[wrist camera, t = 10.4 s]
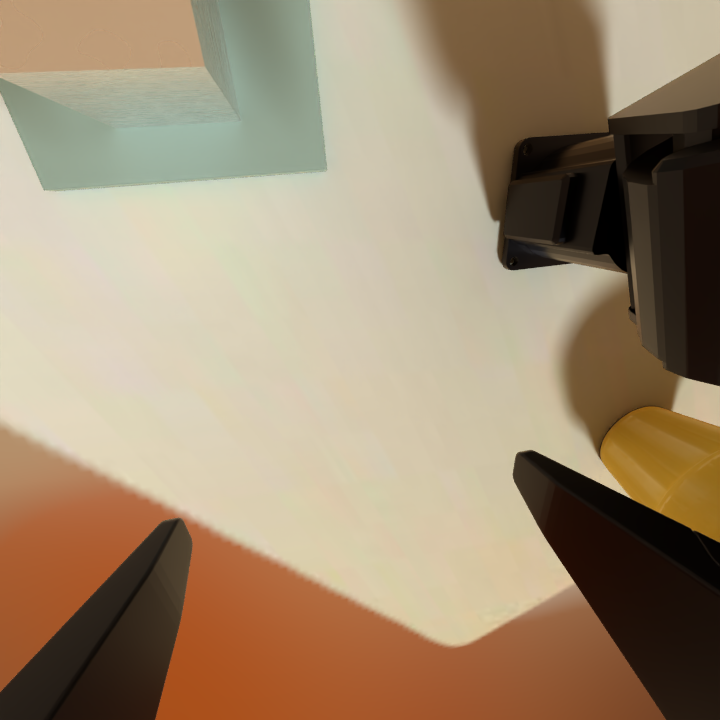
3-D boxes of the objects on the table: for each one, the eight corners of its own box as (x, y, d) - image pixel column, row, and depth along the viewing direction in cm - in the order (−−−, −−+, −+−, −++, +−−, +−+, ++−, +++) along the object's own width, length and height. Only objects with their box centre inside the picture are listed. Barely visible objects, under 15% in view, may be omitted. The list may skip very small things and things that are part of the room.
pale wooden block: (208, -48, 12) (132, -264, 6) (241, 121, 14) (205, 66, 8) (55, -49, 11) (-171, -290, 6) (115, 128, 13) (-10, 73, 8)
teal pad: (295, -110, 12) (295, -131, 11) (325, 171, 16) (327, 169, 15) (-78, -122, 11) (-105, -146, 10) (56, 191, 14) (43, 190, 14)
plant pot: (599, 389, 25) (761, 487, 16) (709, 379, 27) (910, 463, 18) (563, 489, 29) (676, 607, 21) (660, 475, 31) (801, 579, 22)
